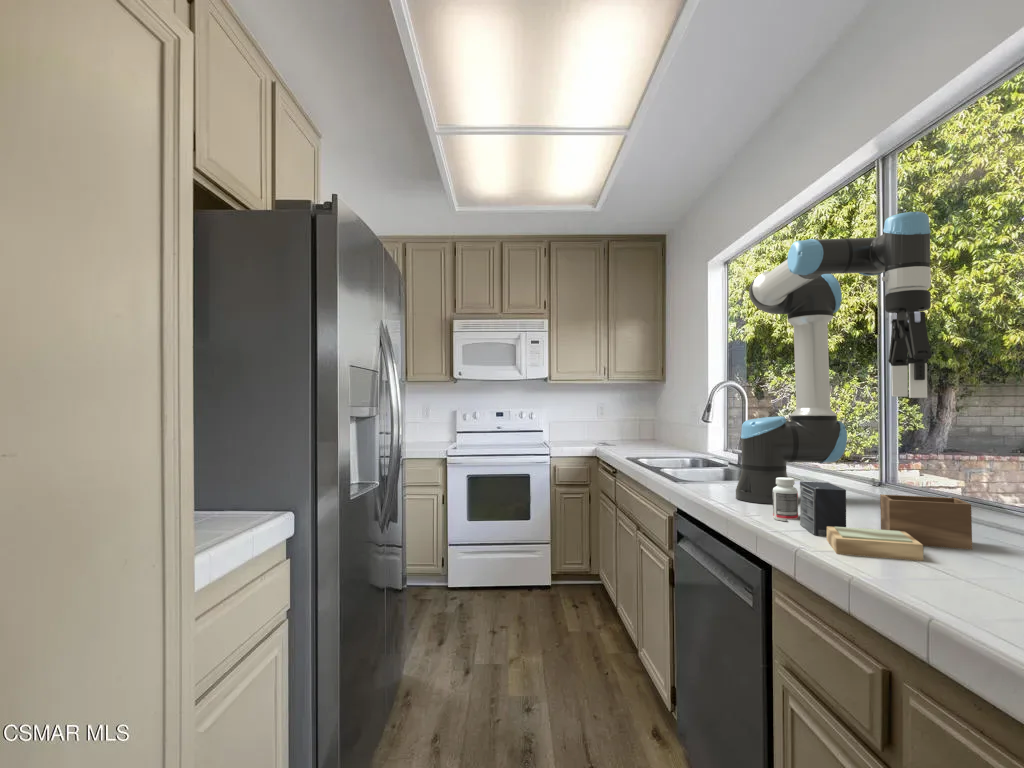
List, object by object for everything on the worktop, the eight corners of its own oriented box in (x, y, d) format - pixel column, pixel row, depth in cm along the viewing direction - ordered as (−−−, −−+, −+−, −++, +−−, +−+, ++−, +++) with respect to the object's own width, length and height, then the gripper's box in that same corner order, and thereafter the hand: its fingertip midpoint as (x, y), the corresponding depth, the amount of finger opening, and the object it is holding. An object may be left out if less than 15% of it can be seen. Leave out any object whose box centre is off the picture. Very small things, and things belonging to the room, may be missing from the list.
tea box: (881, 538, 116) (880, 494, 117) (957, 543, 112) (956, 498, 112) (890, 546, 110) (889, 500, 110) (972, 553, 105) (971, 504, 105)
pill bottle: (803, 521, 133) (802, 479, 133) (783, 522, 131) (783, 480, 132) (787, 516, 138) (786, 476, 138) (768, 517, 137) (767, 477, 137)
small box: (849, 541, 115) (848, 489, 115) (814, 539, 116) (813, 488, 116) (830, 529, 125) (830, 481, 125) (799, 527, 126) (798, 480, 127)
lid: (826, 541, 113) (826, 524, 113) (905, 547, 108) (904, 529, 108) (836, 555, 103) (836, 536, 103) (923, 562, 98) (922, 543, 98)
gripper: (872, 301, 127) (873, 396, 127) (901, 282, 104) (902, 398, 104) (912, 299, 124) (913, 396, 124) (951, 279, 101) (952, 398, 101)
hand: (908, 397), depth 114 cm, fingers open, 13 cm apart
